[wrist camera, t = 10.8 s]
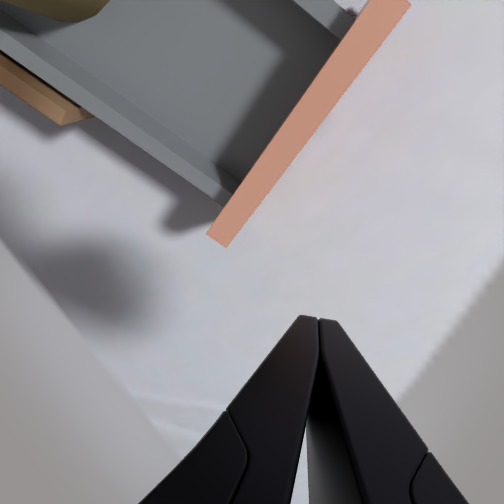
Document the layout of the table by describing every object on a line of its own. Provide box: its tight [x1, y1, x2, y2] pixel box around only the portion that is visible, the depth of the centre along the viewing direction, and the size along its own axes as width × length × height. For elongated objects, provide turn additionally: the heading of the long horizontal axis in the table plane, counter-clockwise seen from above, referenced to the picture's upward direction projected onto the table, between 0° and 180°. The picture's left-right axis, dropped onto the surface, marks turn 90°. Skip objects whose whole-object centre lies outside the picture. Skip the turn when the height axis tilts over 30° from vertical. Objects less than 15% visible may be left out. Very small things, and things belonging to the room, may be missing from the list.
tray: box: [0, 0, 412, 248], centre depth 15 cm, size 19×12×4 cm, turn 56°
